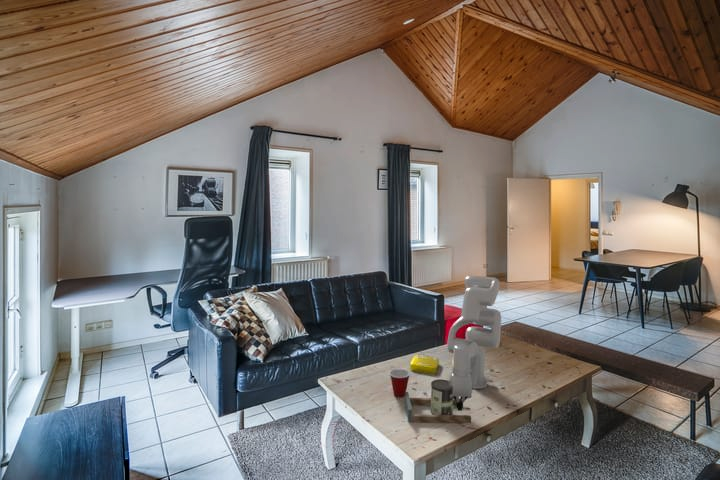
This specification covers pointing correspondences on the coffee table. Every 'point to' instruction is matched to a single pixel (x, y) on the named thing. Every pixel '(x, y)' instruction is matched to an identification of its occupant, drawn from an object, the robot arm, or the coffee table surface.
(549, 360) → the coffee table surface
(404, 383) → the plastic cup
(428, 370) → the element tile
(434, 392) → the coffee can
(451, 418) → the frame
